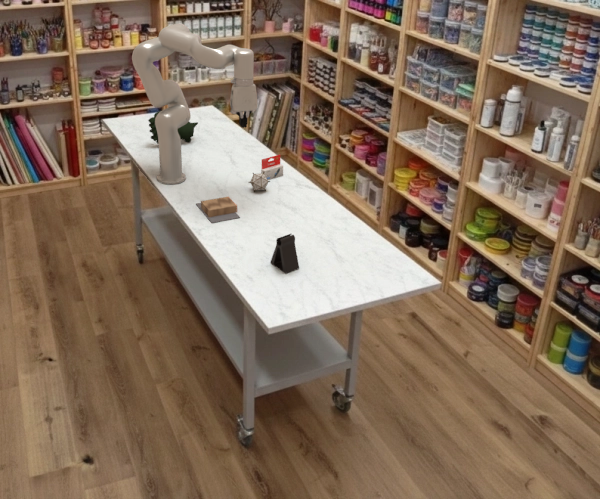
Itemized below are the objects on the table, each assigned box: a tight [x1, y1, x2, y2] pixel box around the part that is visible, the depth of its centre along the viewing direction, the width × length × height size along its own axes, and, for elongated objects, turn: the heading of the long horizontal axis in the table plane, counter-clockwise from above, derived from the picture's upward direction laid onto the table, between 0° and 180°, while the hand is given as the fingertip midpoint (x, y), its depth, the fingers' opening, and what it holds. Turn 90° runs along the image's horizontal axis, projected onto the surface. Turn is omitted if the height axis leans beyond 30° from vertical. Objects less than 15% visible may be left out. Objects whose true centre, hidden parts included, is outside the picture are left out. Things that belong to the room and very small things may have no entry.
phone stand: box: [270, 233, 300, 274], centre depth 247 cm, size 9×6×12 cm, turn 39°
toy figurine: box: [147, 110, 199, 145], centre depth 341 cm, size 9×19×25 cm
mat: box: [195, 202, 241, 224], centre depth 284 cm, size 18×12×1 cm, turn 28°
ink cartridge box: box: [261, 154, 284, 181], centre depth 313 cm, size 2×11×10 cm, turn 131°
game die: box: [248, 172, 271, 193], centre depth 302 cm, size 9×8×10 cm
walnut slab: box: [200, 196, 238, 217], centre depth 284 cm, size 9×3×12 cm
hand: (243, 126), depth 282 cm, fingers closed
